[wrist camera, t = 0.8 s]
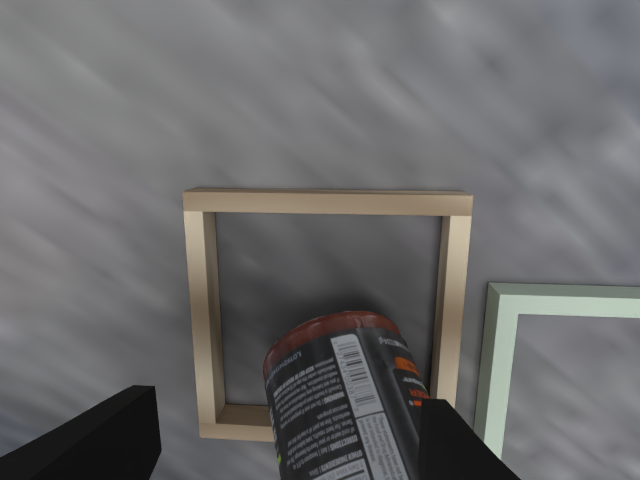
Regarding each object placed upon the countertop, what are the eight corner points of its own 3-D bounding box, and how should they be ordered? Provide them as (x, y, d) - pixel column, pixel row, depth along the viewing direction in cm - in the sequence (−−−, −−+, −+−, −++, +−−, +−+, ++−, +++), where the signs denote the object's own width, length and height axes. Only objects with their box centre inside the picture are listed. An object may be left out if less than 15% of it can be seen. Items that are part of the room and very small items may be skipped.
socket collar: (443, 430, 20) (450, 452, 19) (210, 417, 21) (199, 437, 20) (463, 191, 18) (473, 195, 16) (196, 188, 18) (182, 191, 17)
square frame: (712, 517, 20) (740, 547, 19) (466, 500, 21) (474, 527, 20) (773, 290, 17) (811, 304, 16) (488, 282, 18) (499, 294, 17)
